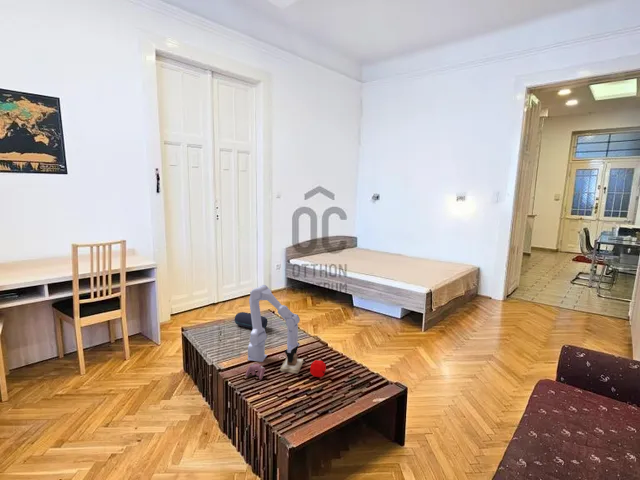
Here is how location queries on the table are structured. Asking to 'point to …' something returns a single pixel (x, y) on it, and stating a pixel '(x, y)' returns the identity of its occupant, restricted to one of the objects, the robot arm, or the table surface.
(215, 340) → the table surface
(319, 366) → the ball
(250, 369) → the video game controller
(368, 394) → the table surface
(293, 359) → the walnut block
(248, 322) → the portable speaker
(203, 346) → the table surface
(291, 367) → the shallow cream tray
